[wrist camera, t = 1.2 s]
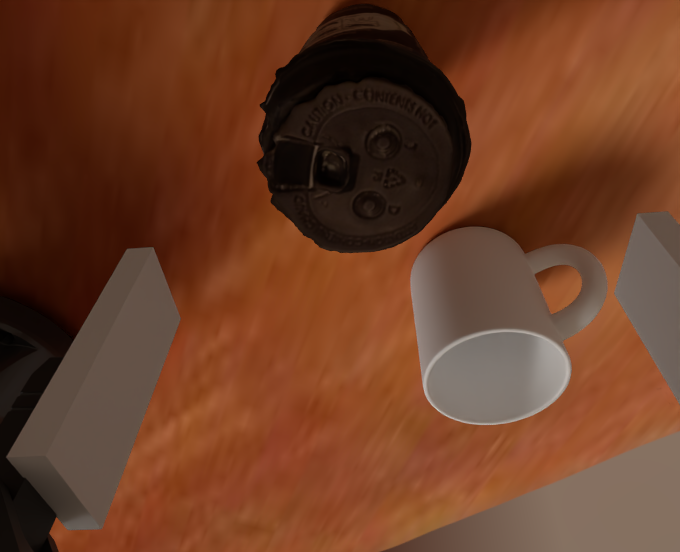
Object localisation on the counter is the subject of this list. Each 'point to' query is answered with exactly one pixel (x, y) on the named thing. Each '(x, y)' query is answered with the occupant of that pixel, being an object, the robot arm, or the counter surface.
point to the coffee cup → (362, 134)
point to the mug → (496, 324)
